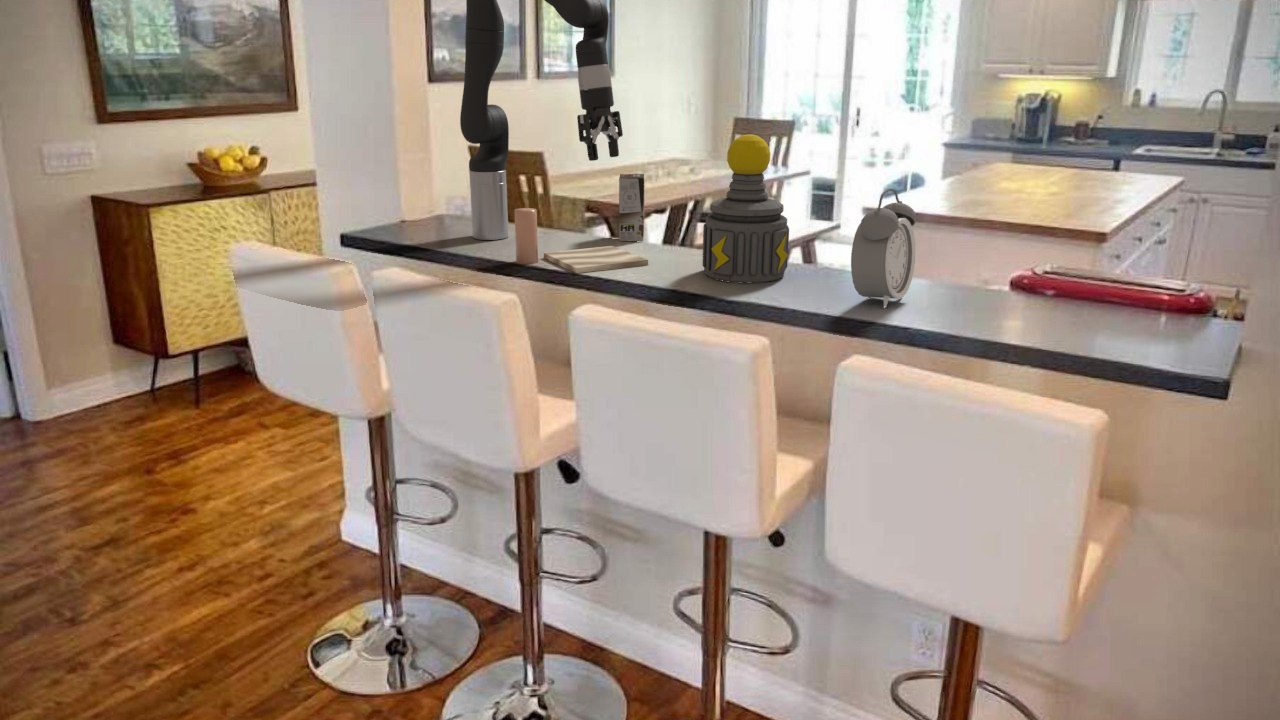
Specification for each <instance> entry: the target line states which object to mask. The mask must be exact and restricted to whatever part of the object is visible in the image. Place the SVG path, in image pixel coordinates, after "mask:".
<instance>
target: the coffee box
mask: <svg viewBox="0 0 1280 720" xmlns="http://www.w3.org/2000/svg"><path fill="white" fill-rule="evenodd" d="M618 178H619V179H618V183H619V184H618V188H619V190H618V200H619V201H618V204H619V205H618V213H619V214H618V218H619V219H618V223H619V226H618V230H619V231H618V237H619V238H618V239H619V241H620V242H644V237H645V236H644V235H645V174H644V173H627V174H626V173H621V174H620V175H619V177H618Z"/></svg>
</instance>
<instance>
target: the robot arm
mask: <svg viewBox="0 0 1280 720" xmlns="http://www.w3.org/2000/svg"><path fill="white" fill-rule="evenodd" d="M543 1H544V2H545V3H547V4H549V5H550V7H551V6H552V7H553V8H554V10H555V12H556V13H557V14H558V15H559V16H560V18H562V20H564V22H565V23H567V24H568V25H571V26H572V27H574V28H577V29H583V34H582V39H581V40H580V41H578V42H577V43H576V45H575V57H576V65H577V66H576V67H577V82H578V89H579V97H580V99H579V100H580V106H581V107H580V108H581V109H582V110H583V111H585V113H582V114H578V115H577V128H578V129H577V130H578V138H579V142H580V143H584V144H585V145H586V151H587V152H586V153H587V157H588V161H590V162H591V161H598V160H599V156H598V155H599V154H598V146H597V143H596V142H597V138H598V136H599V135H601V133H602V134H603V135H605V137H606V139H607V140H608V141H607V143H608V145H607V146H608V152H609V153H608V154H609V158H617V157H619V156H620V152H619V150H620V149H619V143H618V141H619V139H620V138H621V137H623V135H624V133H623V128H622V127H623V126H622V119H621V113H620V111H619V110H614V111H611V107H614V105H615V101H614V94H613V85H612V75H611V72H610V68H609V61H608V54H607V53H608V52H607V41H608V31H609V21H610V20H609V18H610V17H609V12H608V11H609V9H608V7H607V5H606V3H605V1H604V0H543ZM465 2H466V4H465V5H466V9H465V11H466V15H465V16H466V17H465V36H464V37H465V39H464V40H465V43H464V44H465V60H464V61H465V62H464V81H463V92H462V99H461V106H460V107H461V108H460V117H459V119H460V121H459V122H460V123H459V124H460V130H461V131H460V132H461V134H462V136H463V138H464V139H465V140H466V141H467V143H470V144H472V145H479V148H478V150H477V152H476V153H475V154H474V155H472V157H471V158H469V160H468V172H469V188H470V190H469V191H470V193H469V194H470V211H471V212H470V213H471V230H472V238H473V239H476V240H480V241H482V240H483V241H491V240H493V241H494V240H497V241H498V240H501V239H507V238H509V218H508V217H509V215H508V211H509V210H508V190H507V166H506V165H507V162H508V159H509V145H510V144H509V142H510V141H509V138H510V137H509V134H510V133H509V131H510V129H509V121H508V120H509V119H508V116H507V114H506V112H505V110H504V109H503V108H502V107H501V106H499V105H497V104H489V103H488V102H489V90H490V85H491V81H492V79H493V77H494V74H495V72H496V71H497V68H498V66H499V64H500V62H501V59H502V57H503V54H504V46H505V21H504V17H503V13H502V10H501V8H500V5H499V3H498V0H466V1H465ZM616 130H617V131H616ZM584 131H585V132H584ZM584 134H585V135H584Z"/></svg>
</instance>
